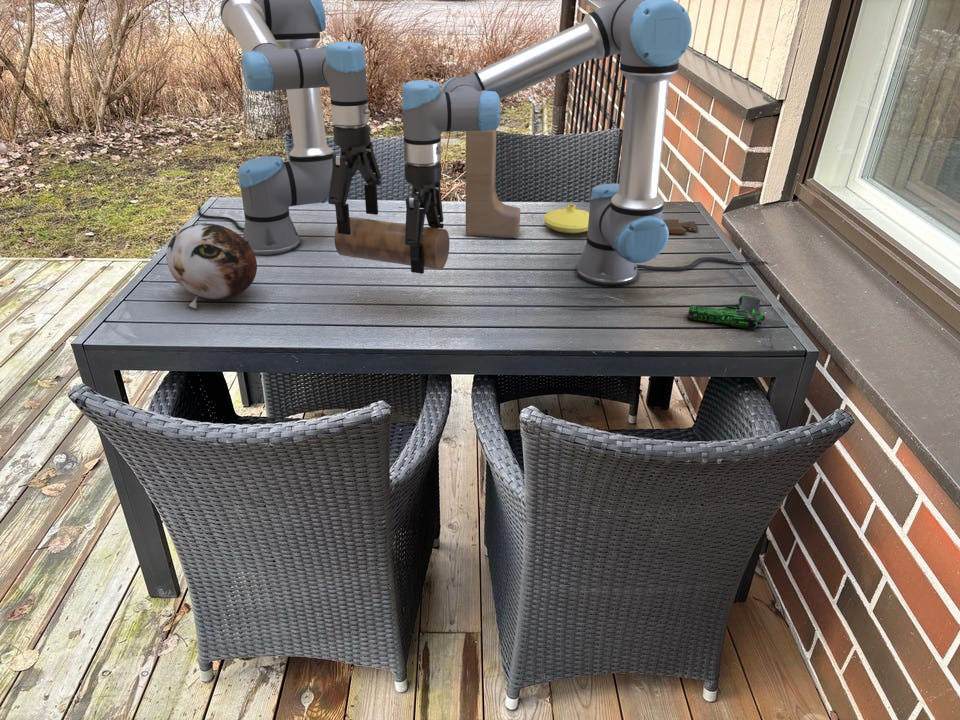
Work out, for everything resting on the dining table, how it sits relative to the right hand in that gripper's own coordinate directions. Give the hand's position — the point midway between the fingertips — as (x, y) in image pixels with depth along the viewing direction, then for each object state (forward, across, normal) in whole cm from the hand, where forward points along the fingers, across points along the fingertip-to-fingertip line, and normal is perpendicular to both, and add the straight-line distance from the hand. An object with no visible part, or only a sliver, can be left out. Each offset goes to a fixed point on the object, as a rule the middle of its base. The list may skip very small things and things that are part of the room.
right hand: (425, 264), depth 158 cm
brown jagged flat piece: (+12, +73, -43) cm, 86 cm away
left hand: (-7, 0, +16) cm, 17 cm away
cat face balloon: (+12, -9, +50) cm, 52 cm away
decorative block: (+12, +53, +1) cm, 54 cm away
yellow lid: (+12, +64, -20) cm, 68 cm away
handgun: (+12, +22, -65) cm, 70 cm away
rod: (0, 0, +8) cm, 8 cm away
